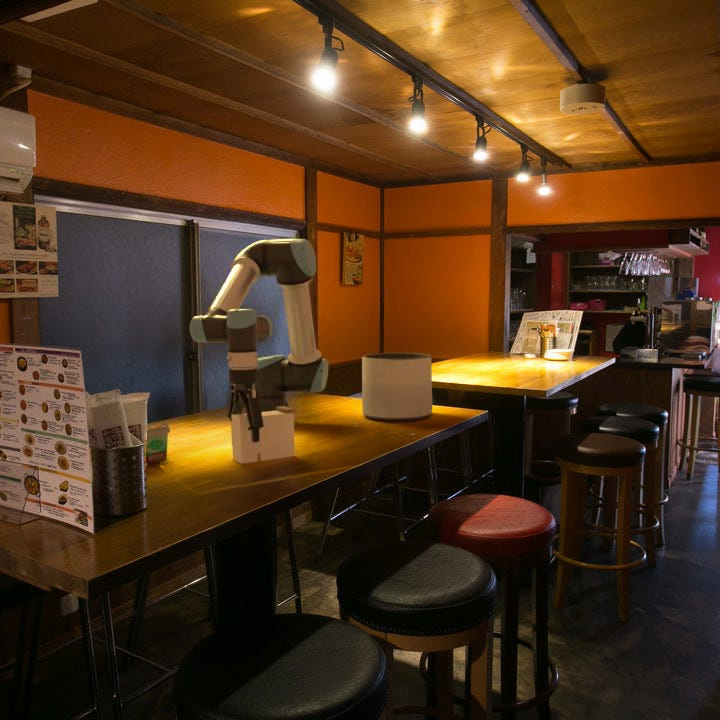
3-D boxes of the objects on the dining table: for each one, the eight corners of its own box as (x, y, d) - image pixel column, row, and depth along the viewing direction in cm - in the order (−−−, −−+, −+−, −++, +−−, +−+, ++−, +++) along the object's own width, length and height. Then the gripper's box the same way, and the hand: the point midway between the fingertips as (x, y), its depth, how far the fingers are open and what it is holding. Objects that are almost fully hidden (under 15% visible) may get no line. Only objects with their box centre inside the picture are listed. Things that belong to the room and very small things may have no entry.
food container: (145, 469, 172) (143, 431, 171) (129, 466, 175) (127, 429, 174) (181, 459, 182) (179, 423, 181) (165, 456, 186) (164, 421, 185)
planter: (446, 417, 240) (446, 355, 237) (390, 425, 225) (389, 360, 223) (403, 407, 260) (402, 351, 258) (348, 415, 246) (347, 355, 244)
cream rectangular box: (251, 456, 181) (250, 409, 180) (285, 451, 187) (283, 406, 185) (260, 461, 176) (259, 412, 175) (294, 456, 181) (293, 409, 180)
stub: (232, 459, 179) (231, 414, 177) (250, 456, 181) (249, 412, 180) (241, 463, 173) (239, 418, 172) (259, 461, 176) (257, 416, 175)
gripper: (213, 365, 183) (216, 442, 185) (247, 373, 163) (249, 460, 165) (239, 363, 187) (242, 439, 189) (275, 371, 167) (277, 456, 169)
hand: (245, 449), depth 177 cm, fingers open, 12 cm apart
